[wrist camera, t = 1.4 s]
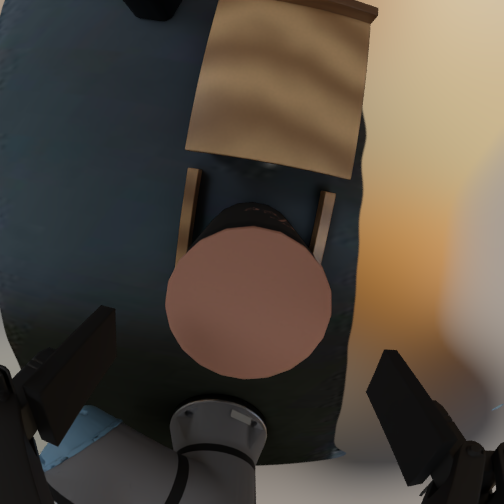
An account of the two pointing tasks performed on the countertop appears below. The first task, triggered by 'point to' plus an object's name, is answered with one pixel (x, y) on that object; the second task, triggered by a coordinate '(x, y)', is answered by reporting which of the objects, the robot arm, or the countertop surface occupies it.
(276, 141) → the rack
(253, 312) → the coffee jar
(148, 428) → the countertop surface
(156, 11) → the wine bottle
